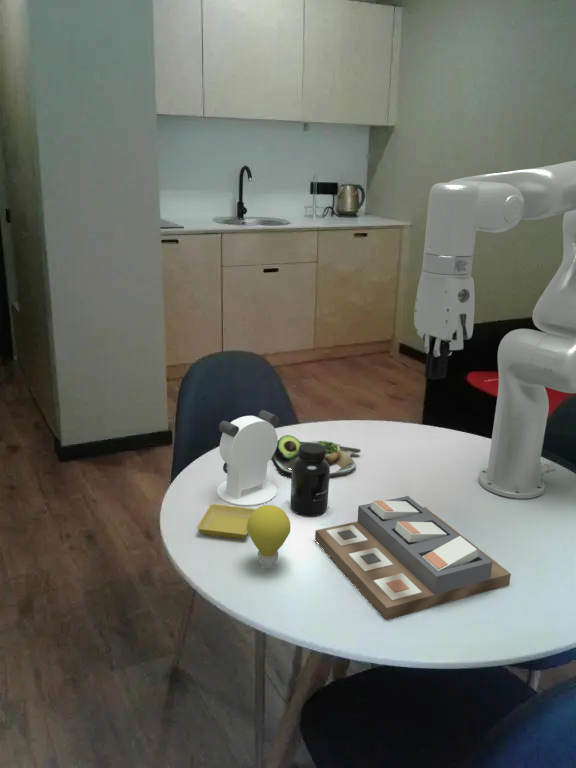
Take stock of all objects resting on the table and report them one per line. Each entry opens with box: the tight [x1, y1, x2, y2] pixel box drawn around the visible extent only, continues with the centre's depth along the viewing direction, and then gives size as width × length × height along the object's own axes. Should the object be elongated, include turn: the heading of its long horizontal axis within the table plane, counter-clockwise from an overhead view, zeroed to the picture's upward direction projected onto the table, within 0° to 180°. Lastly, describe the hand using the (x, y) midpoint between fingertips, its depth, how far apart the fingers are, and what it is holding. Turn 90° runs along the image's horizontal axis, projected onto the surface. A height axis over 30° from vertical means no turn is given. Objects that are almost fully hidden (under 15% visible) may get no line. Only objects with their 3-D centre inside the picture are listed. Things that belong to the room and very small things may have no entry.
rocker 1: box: [371, 499, 419, 519], centre depth 113 cm, size 7×4×2 cm, turn 114°
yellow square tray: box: [196, 503, 257, 540], centre depth 115 cm, size 9×9×2 cm
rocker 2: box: [395, 521, 447, 542], centre depth 106 cm, size 7×4×2 cm, turn 114°
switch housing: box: [356, 495, 492, 595], centre depth 107 cm, size 10×22×3 cm, turn 24°
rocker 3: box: [422, 536, 478, 571], centre depth 100 cm, size 7×4×2 cm, turn 114°
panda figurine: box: [216, 409, 280, 507], centre depth 126 cm, size 12×11×15 cm
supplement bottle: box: [289, 443, 331, 517], centre depth 121 cm, size 7×7×12 cm
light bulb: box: [247, 504, 291, 570], centre depth 103 cm, size 7×7×10 cm
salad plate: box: [272, 434, 362, 478], centre depth 142 cm, size 19×18×5 cm
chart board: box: [314, 506, 512, 621], centre depth 107 cm, size 22×22×2 cm
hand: (435, 377), depth 110 cm, fingers closed
